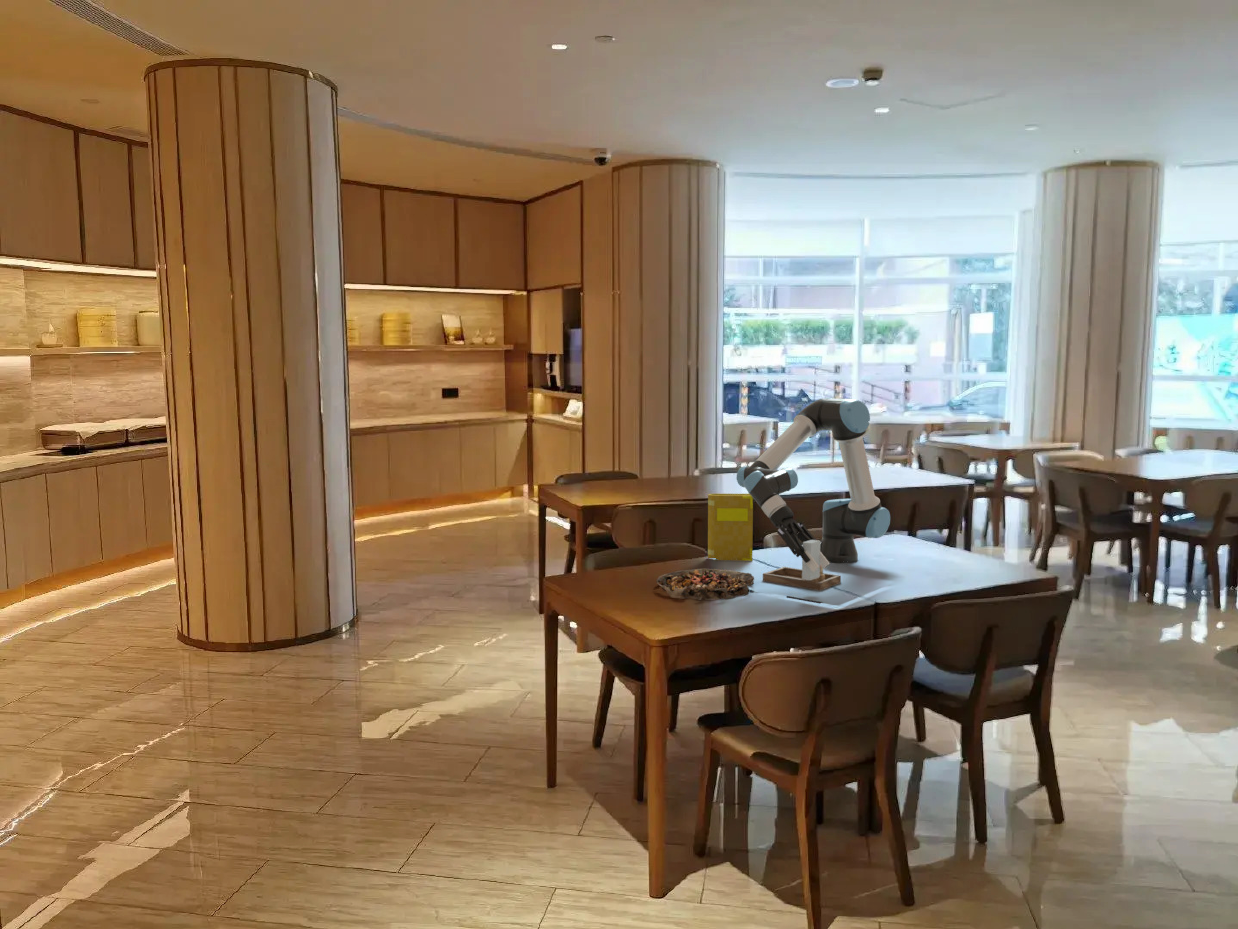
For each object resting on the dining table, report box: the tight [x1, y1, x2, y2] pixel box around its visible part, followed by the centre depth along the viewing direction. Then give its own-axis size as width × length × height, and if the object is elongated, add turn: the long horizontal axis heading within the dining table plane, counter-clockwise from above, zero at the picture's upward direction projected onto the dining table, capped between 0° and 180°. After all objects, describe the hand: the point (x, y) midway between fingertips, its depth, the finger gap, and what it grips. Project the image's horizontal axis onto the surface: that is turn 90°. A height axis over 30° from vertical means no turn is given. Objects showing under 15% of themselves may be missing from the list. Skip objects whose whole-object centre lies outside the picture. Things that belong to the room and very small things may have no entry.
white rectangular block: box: [801, 539, 821, 580], centre depth 309 cm, size 6×3×12 cm, turn 139°
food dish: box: [656, 567, 755, 601], centre depth 323 cm, size 35×33×8 cm
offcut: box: [804, 575, 825, 582], centre depth 323 cm, size 5×6×3 cm
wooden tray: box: [762, 566, 842, 591], centre depth 326 cm, size 14×22×4 cm, turn 49°
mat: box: [786, 595, 823, 604], centre depth 310 cm, size 12×12×1 cm
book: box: [707, 493, 754, 562], centre depth 368 cm, size 17×7×25 cm, turn 84°
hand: (821, 567), depth 307 cm, fingers closed on white rectangular block, 6 cm apart
